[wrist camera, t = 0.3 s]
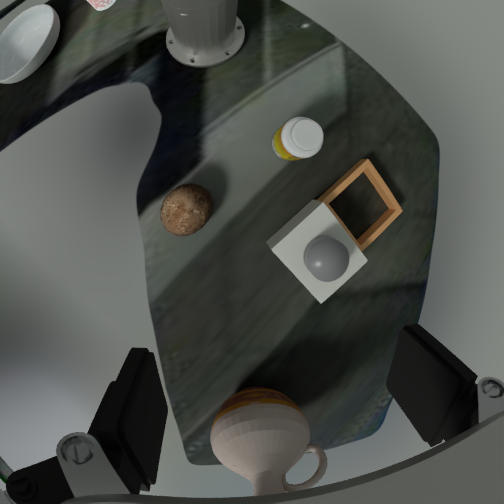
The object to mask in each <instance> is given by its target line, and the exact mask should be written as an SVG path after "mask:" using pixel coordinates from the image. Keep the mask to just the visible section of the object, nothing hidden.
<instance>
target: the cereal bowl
mask: <svg viewBox="0 0 504 504" xmlns="http://www.w3.org/2000/svg"><path fill="white" fill-rule="evenodd" d="M59 31H60V20H59V17H58V15H57V13H56V11H55V10H54V9H53V8H52V7H51V6H49V5H45V4H42V5H36V6H33V7H31V8H29V9H27V10H26V11H24V12H23V13H21V14H20V15H19V16H17V17H16V18H15V19H14V20H13V21H12V22H11V23H10V24H9V25H8V26H7V27H6V29H5V30H4V31H3V33H2V34H1V35H0V83H5V84H6V83H8V84H9V83H15V82H18V81H20V80H23V79H24V78H26V77H27V76H29V75H30V74H32V73H33V72H34V71H35V70H37V69H38V68H39V66H40V65H42V63H43V62H44V61H45V60H46V58H47V57H48V56H49V54H50V52H51V51H52V49H53V47H54V45H55V43H56V41H57V39H58V36H59Z"/></svg>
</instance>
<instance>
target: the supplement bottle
mask: <svg viewBox="0 0 504 504" xmlns="http://www.w3.org/2000/svg"><path fill="white" fill-rule="evenodd" d="M322 143H323V131H322V128H321V127H320V125H319V124H318V123H316V122H315V121H313V120H312V119H309V118H307V117H295V118H292V119H290V120H289V121H288V122H286V123H285V124H284V125H283V126H282V127H281V128H280V129H278V130H277V131H276V133H275V134H274V136H273V139H272V146H273V149H274V151H275V153H276V154H277V155H278V156H279V157H280V158H282V159H284V160H287V161H294V160H299V159H304V158H308V157H311V156H313V155H315V154H316V153H317V152H318V151H319V150H320V148H321V146H322Z"/></svg>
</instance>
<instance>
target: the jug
mask: <svg viewBox="0 0 504 504" xmlns="http://www.w3.org/2000/svg"><path fill="white" fill-rule="evenodd" d="M309 442H310V430H309V425H308V423H307V420H306V418H305V416H304V414H303V413H302V412H301V410H300V409H299V408H298V406H297V405H296V404H295V403H294V402H293V401H292V400H291V399H289V398H288V397H287V396H286V395H284V394H283V393H281V392H278V391H275V390H273V389H270V388H266V387H261V386H252V387H248V388H245V389H243V390H241V391H239V392H237V393H236V394H234V395H233V396H232V397H230V398H229V399H228V400H226V401H225V402H224V404H223V405H222V407H221V408H220V410H219V412H218V413H217V415H216V417H215V420H214V423H213V426H212V429H211V444H212V448H213V452H214V454H215V456H216V457H217V458H218V459H219V460H220V462H221V463H222V464H223V465H224V466H226V467H227V468H229V469H230V470H232V471H234V472H236V473H238V474H240V475H242V476H244V477H245V478H247V479H249V480H250V481H252V483H253V486H254V496H261V495H271V494H279V493H286V492H285V491H287V492H293V491H299V490H304V489H309V488H310V487H312V486H313V485H315V484H316V483H317V482H318V481H319V480H320V479H321V478H322V477H323V475H324V473H325V471H326V468H327V457H326V454H325V452H324V451H323V450H322V449H321V447H319V446H317V445H314V444H309ZM310 451H311V452H314V453H316V455H317V456H318V459H319V466H318V469H317V471H316V472H315V474H314V475H313V476H312V477H311V478H310V479H309V480H308V481H306V482H304V483H301V484H297V485H292V484H288V483H287V482H286V478H285V474H286V473H287V472H288V471H289V470H290V468H291V467H293V466H294V465H295V464H296V463H297V462H298V461H299V460H300V459H301V457H302V456H303V455H304V454H305V453H307V452H310Z"/></svg>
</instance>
